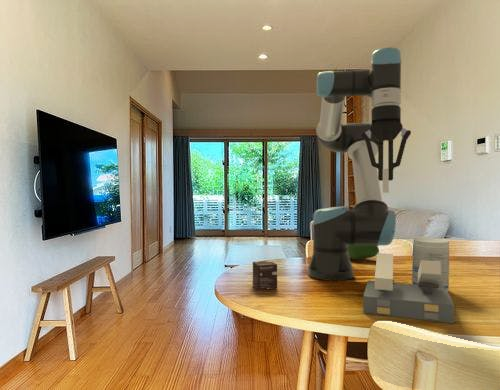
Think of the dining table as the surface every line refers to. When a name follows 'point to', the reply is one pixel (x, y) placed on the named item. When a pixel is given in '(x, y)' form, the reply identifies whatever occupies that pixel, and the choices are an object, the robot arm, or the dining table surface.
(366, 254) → the fruit
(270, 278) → the box
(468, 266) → the dining table surface
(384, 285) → the switch left
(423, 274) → the switch right
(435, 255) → the supplement tub
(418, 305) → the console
